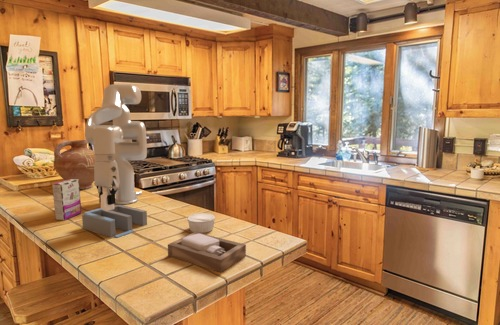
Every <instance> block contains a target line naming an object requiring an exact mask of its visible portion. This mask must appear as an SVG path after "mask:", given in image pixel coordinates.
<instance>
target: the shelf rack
mask: <svg viewBox="0 0 500 325" xmlns="http://www.w3.org/2000/svg"><path fill="white" fill-rule="evenodd" d="M147 213H148V212H147V210H144V209H140V208H135V207H131V206H127V205H124V204H114V209H113V210H109V211H104V210H102V209H101V207H100V208H96V209H91V210H88V211H84V213H81V216H82V217H81V219H82V220H81V221H82V229H84V230H86V231H90V232H92V233H96V234H100V235H103V236H105V237H108V238H116V239H118V238H121V237H125V236H127V235H130V234H132V233H135V230H133V224H135V225H140V226H143V227H145V226H147V225H148V215H147ZM116 229H119V230H122V231H124V232H122V233H119V234H118V233H117V234H116Z"/></svg>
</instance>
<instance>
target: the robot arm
mask: <svg viewBox="0 0 500 325" xmlns="http://www.w3.org/2000/svg"><path fill="white" fill-rule="evenodd" d="M141 101H142V92H141V89H140V88H139V87H138V86H136V85H134V84H123V83H122V84H119V83H118V84H113V83H112V84H109V85H107V86H106V87H104V89H103V98H102V104H101V107H98V109H96V110H95V111H93V112H92V113H91V114H90V115H89V116H88V118H87V121H86V124H85V128H84V140H86V141H87V142H88V144H92V145H93V151H94V157H95V166H94V180H95V181H94V182H93V185H94V186H95V187H96V189H97V192H98V198H99V199H98V200H99V201H98V202H99V204H101V198H100V196H101V195H102V194H103V192H102V187H107V190H108V195H107V201H108V205H111V204H114V205H129V204H133V203H137V202H138V201H139V198H138V196H141V195H142V194H143V193H142V191H140V190H139V191H135V174H134V173H135V172H134V167H133V165H132V164H131V163H130V162H129V161H144V160H145V159H146V158H147V157H148V156H147V155H148V143H147V141H148V140H147V128H146V125H145V123H144V122H143V121H140V120H131V112H130V109H129V108H128V107H127V105H139V104H140V103H141ZM110 121H112V125H109V124H108V125H105V124H104V123H106V122H110ZM122 140H123V141H122ZM124 140H134V141H124ZM135 140H136V141H135ZM110 188H111V190H110Z"/></svg>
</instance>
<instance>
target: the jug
mask: <svg viewBox="0 0 500 325" xmlns="http://www.w3.org/2000/svg"><path fill="white" fill-rule="evenodd" d="M88 144H89V142H87V141H86V139H80V140H79V139H77V140H76V139H73V140H63V141H61V142H60V143H59V144H57V145H56V147H55V148H54V151H53V156H54V158H53V167H54V170H55V171H56V172H57V174H58V175H59V176H60V177H61V178H62V179H63V181H65V180H69V179H79V189H80V190H86V189H91V188H93V187H94V183H95V180H94V166H95V157H94V149H93V150H92V149H89V148H88ZM67 146H70V148H69V149H67V150H64V151H62V152H61V150H62V149H63V148H64V147H67Z"/></svg>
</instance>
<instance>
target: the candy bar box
mask: <svg viewBox="0 0 500 325" xmlns="http://www.w3.org/2000/svg"><path fill="white" fill-rule="evenodd" d="M51 185H52V195H53V204H54V205H53V206H54V214H55V220H57V221H67V220H69V219H71V218H75V217H76V216H78V215H82V214H83V213H82V212H83V211H82V202H81V192H80V191H81V189H79V179H69V180H63V181H59V182H55V183H52V184H51Z"/></svg>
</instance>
